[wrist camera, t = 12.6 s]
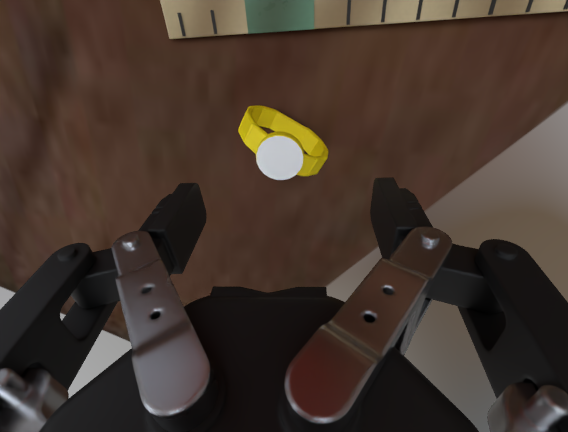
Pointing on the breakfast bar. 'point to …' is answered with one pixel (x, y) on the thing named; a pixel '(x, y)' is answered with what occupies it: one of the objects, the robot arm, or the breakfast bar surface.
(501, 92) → the breakfast bar surface
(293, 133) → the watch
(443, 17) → the ruler
